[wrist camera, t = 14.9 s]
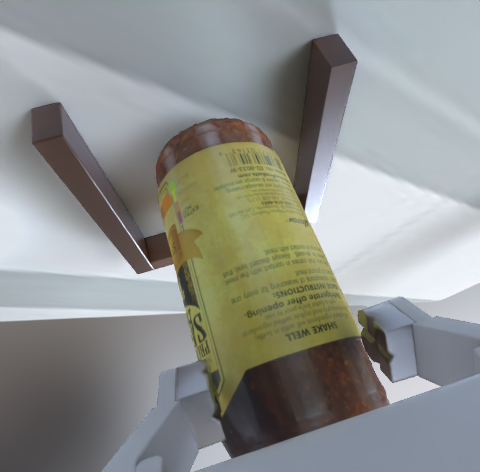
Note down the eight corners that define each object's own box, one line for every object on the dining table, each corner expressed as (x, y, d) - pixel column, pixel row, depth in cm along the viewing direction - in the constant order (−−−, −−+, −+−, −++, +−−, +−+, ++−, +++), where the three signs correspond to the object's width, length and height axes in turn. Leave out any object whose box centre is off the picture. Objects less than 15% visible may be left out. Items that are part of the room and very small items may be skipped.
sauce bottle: (123, 151, 16) (261, 902, 7) (249, 85, 15) (612, 869, 6) (189, 213, 22) (314, 671, 13) (284, 168, 21) (496, 633, 12)
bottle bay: (338, 33, 16) (358, 60, 15) (306, 201, 27) (316, 222, 26) (30, 108, 15) (31, 143, 14) (133, 250, 26) (137, 275, 25)
